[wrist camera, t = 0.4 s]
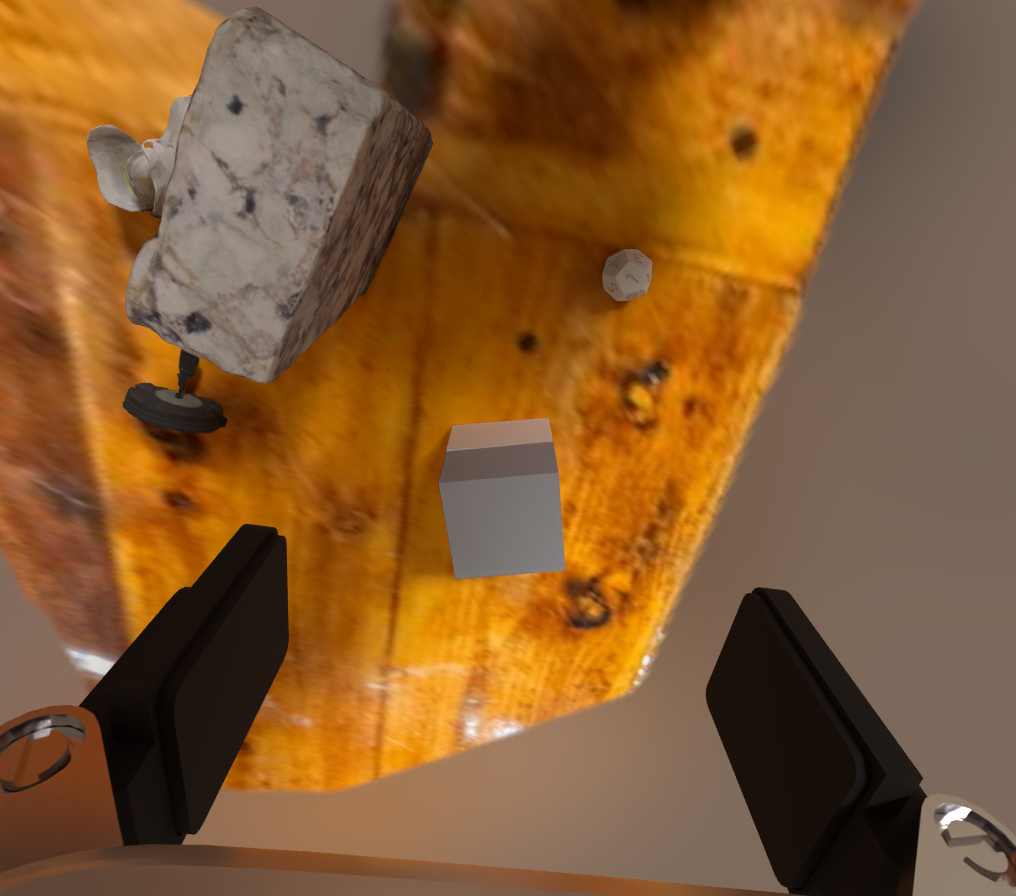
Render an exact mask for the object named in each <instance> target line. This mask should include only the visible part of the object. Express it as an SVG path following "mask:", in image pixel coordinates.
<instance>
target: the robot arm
mask: <svg viewBox="0 0 1016 896" xmlns="http://www.w3.org/2000/svg"><path fill="white" fill-rule="evenodd" d="M288 642H289V629H288V588H287V546H286V538H285V537H284V536H279V535H278V532H277V529H276V528H274V527H268V526H260V525H251V524H244V525H243V526H242V527H240V529H239V530H238V531H237V532H236V534H235V535H234V536H233V537H232V538H231V540H230V541H229V542H228V543H227V544H226V546H225V547H224V548H223V549H222V550H221V552H220V553H219V554H218V555H217V557H216V558H215V559H214V560H213V561H212V563H211V564H210V565H209V566H208V567H207V569H206V570H205V571H204V572H203V573H202V575H201V576H200V577H199V578H198V580H197V581H196V582H195V583H194V584H193V586H192V587H184V588H182V589H180V590H178V591H177V592H176V593H175V594H174V595H173V596H172V597H171V599H170V600H169V601H168V602H167V603H166V604H165V606H164V607H163V608H162V609H161V610H160V611H159V613H158V614H157V615H156V616H155V617H154V619H153V620H152V621H151V622H150V623H149V624H148V626H147V627H146V628H145V629H144V630H143V631H142V633H141V634H140V635H139V636H138V637H137V638H136V640H135V641H134V642H133V643H132V644H131V645H130V647H129V648H128V649H127V650H126V651H125V652H124V654H123V655H122V656H121V657H120V658H119V659H118V661H117V662H116V663H115V664H114V665H113V667H112V668H111V669H110V670H109V671H108V672H107V674H106V675H105V676H104V677H103V678H102V679H101V681H100V682H99V683H98V684H97V685H96V686H95V688H94V689H93V690H92V691H91V692H90V693H89V695H88V696H87V697H86V698H85V699H84V700H83V702H82V703H81V704H80V705H79V706H72V705H59V706H48V707H45V708H41V709H38V710H34V711H30V712H27V713H25V714H23V715H20V716H18V717H16V718H14V719H12V720H9V721H7V722H6V723H4V724H3V725H1V726H0V896H1016V836H1015V835H1014V834H1013V833H1012V832H1011V831H1010V830H1008V829H1007V828H1006V827H1005V826H1004V825H1003V824H1002V823H1000V822H999V821H998V820H997V819H995V818H994V817H993V816H991V815H989V814H988V813H987V812H985V811H984V810H983V809H981V808H980V807H978V806H976V805H974V804H972V803H970V802H968V801H966V800H964V799H962V798H958V797H955V796H951V795H948V794H933V795H931V796H929V797H927V796H926V794H925V793H924V791H923V790H922V789H921V787H920V786H919V784H920V782H921V781H922V780H923V777H922V776H921V774H920V773H919V771H918V770H917V769H916V767H915V766H914V765H913V763H912V762H911V761H910V759H909V758H908V756H907V755H906V753H905V752H904V751H903V749H902V748H901V747H900V745H899V744H898V742H897V741H896V740H895V738H894V737H893V736H892V734H891V733H890V731H889V730H888V729H887V727H886V726H885V724H884V723H883V722H882V720H881V719H880V717H879V716H878V715H877V713H876V712H875V711H874V709H873V708H872V707H871V705H870V704H869V702H868V701H867V699H866V698H865V697H864V695H863V694H862V693H861V691H860V690H859V688H858V687H857V686H856V684H855V683H854V681H853V680H852V679H851V677H850V676H849V675H848V673H847V672H846V671H845V669H844V668H843V666H842V665H841V664H840V662H839V661H838V659H837V658H836V657H835V655H834V654H833V652H832V651H831V650H830V649H829V647H828V645H827V644H826V643H825V641H824V640H823V639H822V637H821V636H820V634H819V633H818V632H817V630H816V629H815V628H814V626H813V625H812V623H811V622H810V621H809V619H808V618H807V616H806V615H805V614H804V612H803V611H802V610H801V608H800V607H799V605H798V604H797V603H796V601H795V600H794V598H793V597H792V596H791V595H790V594H789V593H788V592H787V591H785V590H778V589H769V588H761V587H759V588H755V589H754V590H753V591H752V593H748V594H746V595H745V596H744V598H743V600H742V602H741V604H740V607H739V609H738V612H737V614H736V617H735V619H734V622H733V624H732V626H731V629H730V631H729V634H728V636H727V639H726V641H725V643H724V646H723V648H722V651H721V653H720V655H719V658H718V660H717V663H716V665H715V668H714V670H713V673H712V675H711V677H710V680H709V682H708V684H707V688H706V701H707V705H708V708H709V710H710V713H711V715H712V718H713V720H714V723H715V725H716V728H717V730H718V733H719V736H720V738H721V740H722V743H723V746H724V748H725V750H726V753H727V756H728V758H729V761H730V763H731V766H732V768H733V771H734V773H735V776H736V778H737V781H738V783H739V786H740V788H741V791H742V793H743V796H744V798H745V801H746V803H747V806H748V808H749V811H750V814H751V816H752V819H753V821H754V824H755V826H756V829H757V831H758V833H759V836H760V839H761V841H762V844H763V846H764V849H765V851H766V854H767V856H768V859H769V861H770V864H771V866H772V869H773V871H774V874H775V876H776V878H777V880H778V881H779V882H780V884H781V885H782V886H784V887H787V889H788V891H789V894H785V893H775V892H765V891H754V890H743V889H733V888H722V887H711V886H700V885H689V884H680V883H669V882H658V881H648V880H637V879H625V878H613V877H603V876H591V875H581V874H569V873H558V872H546V871H535V870H523V869H512V868H500V867H489V866H478V865H466V864H454V863H442V862H430V861H418V860H406V859H393V858H381V857H369V856H357V855H344V854H333V853H332V854H331V853H320V852H308V851H292V850H276V849H260V848H245V847H244V848H243V847H229V846H213V845H181V844H182V843H183V841H184V839H185V837H186V835H187V834H192V835H194V834H196V833H197V832H198V831H199V830H200V828H201V826H202V824H203V823H204V820H205V819H206V817H207V815H208V813H209V810H210V808H211V807H212V804H213V802H214V800H215V798H216V796H217V794H218V792H219V790H220V788H221V786H222V784H223V782H224V780H225V778H226V776H227V774H228V772H229V770H230V768H231V766H232V764H233V762H234V760H235V758H236V756H237V754H238V752H239V750H240V748H241V746H242V743H243V741H244V739H245V737H246V735H247V733H248V731H249V729H250V727H251V725H252V723H253V721H254V719H255V717H256V715H257V713H258V711H259V709H260V707H261V705H262V703H263V701H264V699H265V697H266V695H267V693H268V691H269V689H270V687H271V685H272V682H273V680H274V678H275V676H276V674H277V672H278V670H279V668H280V666H281V664H282V662H283V660H284V658H285V655H286V652H287V648H288Z"/></svg>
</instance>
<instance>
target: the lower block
mask: <svg viewBox="0 0 1016 896" xmlns="http://www.w3.org/2000/svg"><path fill="white" fill-rule="evenodd" d="M542 442H553V440H552V434H551V428H550V422H549V418H539V419H526V420H513V421H500V422H487V423H474V424H462V425H453V426H452V429H451V433H450V437H449V441H448V445H447V449H446V452H447V451H454V450H465V449H476V448H487V447H498V446H509V445H520V444H531V443H542Z"/></svg>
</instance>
